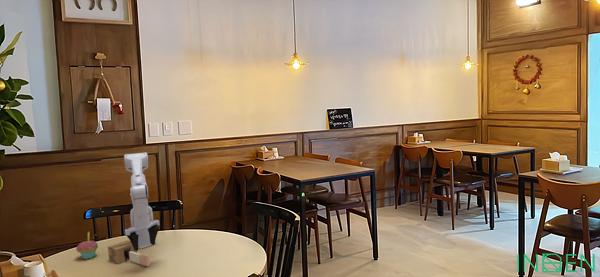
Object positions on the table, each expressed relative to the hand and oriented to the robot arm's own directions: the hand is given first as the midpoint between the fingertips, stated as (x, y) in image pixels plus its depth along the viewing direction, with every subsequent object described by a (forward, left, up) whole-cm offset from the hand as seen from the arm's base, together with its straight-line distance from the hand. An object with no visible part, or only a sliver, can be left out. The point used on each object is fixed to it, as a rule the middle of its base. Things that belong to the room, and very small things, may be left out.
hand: (144, 247), depth 179 cm
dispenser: (-16, 0, -8) cm, 18 cm away
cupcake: (-32, -7, -8) cm, 34 cm away
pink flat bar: (-5, 0, -8) cm, 9 cm away
